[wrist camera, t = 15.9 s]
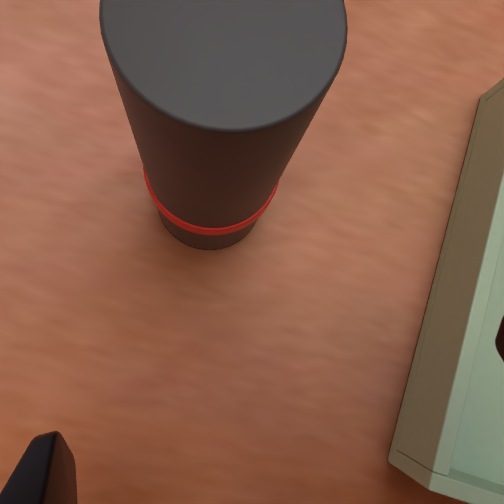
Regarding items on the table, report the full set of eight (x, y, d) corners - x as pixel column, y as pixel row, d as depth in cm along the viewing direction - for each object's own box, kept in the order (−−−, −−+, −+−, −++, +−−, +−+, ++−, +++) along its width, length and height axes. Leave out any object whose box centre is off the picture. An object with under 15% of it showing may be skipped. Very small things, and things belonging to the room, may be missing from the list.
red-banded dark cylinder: (273, 240, 20) (383, 113, 8) (167, 262, 19) (120, 159, 8) (249, 139, 21) (319, -112, 9) (145, 158, 20) (69, -88, 8)
